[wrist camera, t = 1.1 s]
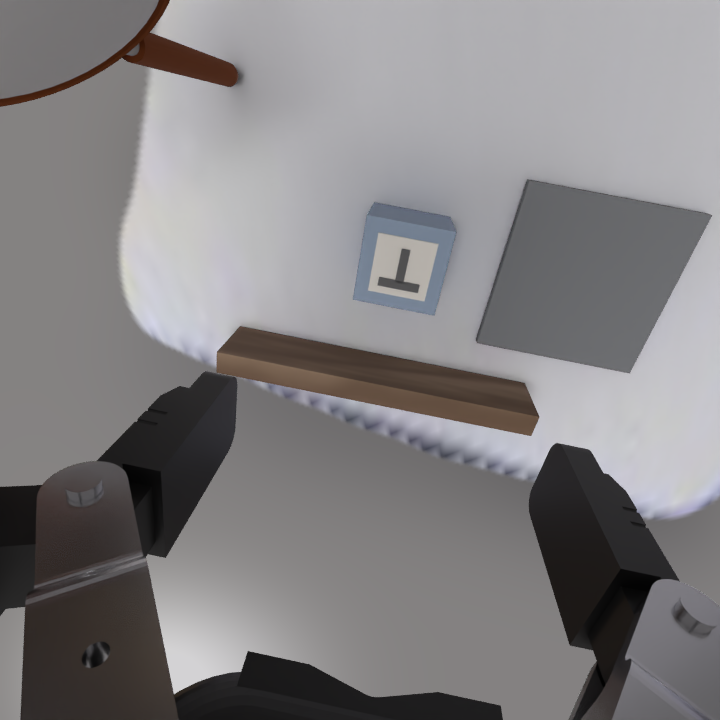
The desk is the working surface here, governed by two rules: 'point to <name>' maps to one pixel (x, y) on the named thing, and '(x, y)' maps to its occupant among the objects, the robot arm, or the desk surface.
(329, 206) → the desk surface
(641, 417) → the desk surface
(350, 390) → the bar
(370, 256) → the letter cube
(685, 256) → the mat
